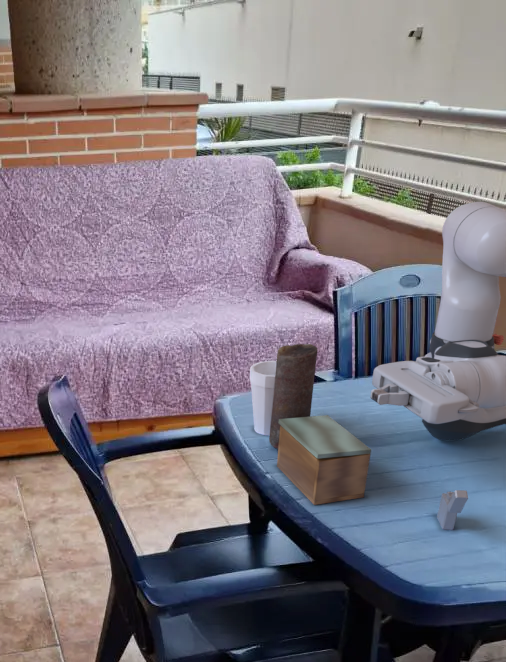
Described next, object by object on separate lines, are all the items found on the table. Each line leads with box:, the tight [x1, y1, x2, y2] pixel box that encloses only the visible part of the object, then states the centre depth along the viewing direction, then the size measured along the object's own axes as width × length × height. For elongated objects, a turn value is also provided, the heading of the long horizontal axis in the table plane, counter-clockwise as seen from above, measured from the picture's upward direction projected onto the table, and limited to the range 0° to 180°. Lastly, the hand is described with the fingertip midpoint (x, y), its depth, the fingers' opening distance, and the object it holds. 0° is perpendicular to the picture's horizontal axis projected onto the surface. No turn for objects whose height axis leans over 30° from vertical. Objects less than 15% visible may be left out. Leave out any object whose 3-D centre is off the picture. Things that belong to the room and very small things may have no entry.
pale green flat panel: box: [278, 414, 372, 459], centre depth 129 cm, size 10×16×1 cm, turn 12°
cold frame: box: [276, 426, 371, 506], centre depth 131 cm, size 9×16×8 cm, turn 12°
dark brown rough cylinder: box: [268, 343, 318, 450], centre depth 141 cm, size 8×7×20 cm
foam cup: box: [249, 360, 277, 437], centre depth 150 cm, size 10×9×13 cm
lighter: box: [436, 489, 469, 531], centre depth 116 cm, size 7×2×8 cm, turn 171°
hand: (374, 397), depth 127 cm, fingers closed
